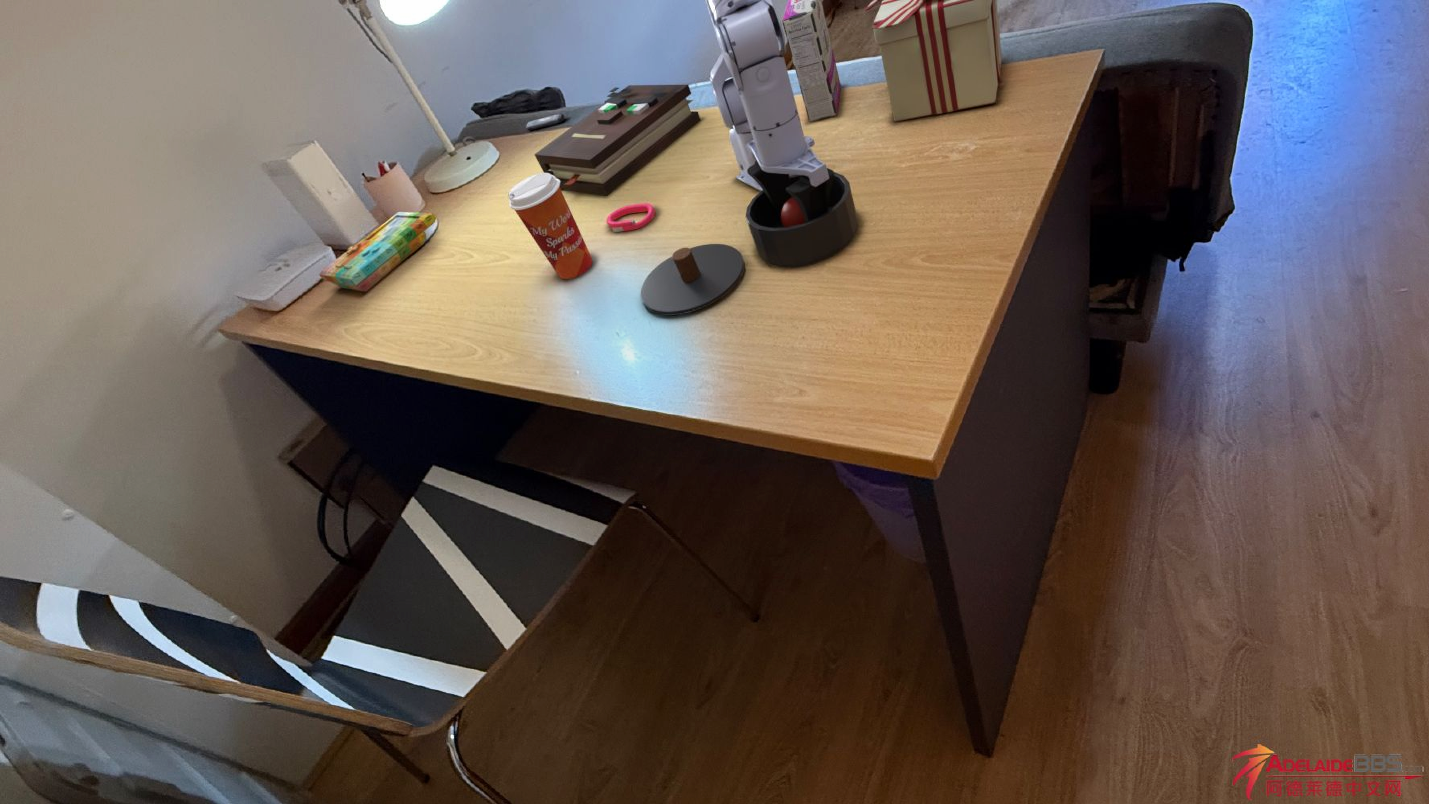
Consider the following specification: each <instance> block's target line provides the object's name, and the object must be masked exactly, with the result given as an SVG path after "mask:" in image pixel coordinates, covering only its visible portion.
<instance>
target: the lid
mask: <svg viewBox="0 0 1429 804" xmlns="http://www.w3.org/2000/svg"><path fill="white" fill-rule="evenodd" d="M744 271H745V260H744V257H743V255H742V253H741V252H740V251H739V250H738V249H737V248H735V247H734V246H731V245H728V244H723V243H709V244H708V243H707V244H701V245H697V246H696V245H695V246H693V247H681V248H678V249H677V250H675V251H674V252H673V253H672V255H671V256H670V257H668V258H667V259H665V260H663V261H662V262H660V264H658V265H656V267H655V268H654V269H653V270H652V271H650V273H649V274H648V275H647V276H646V278H645V279H644V281H643V283H642V285H641V289H640V298H641V299H640V300H641V302H642V303H643V305H644V306H645V307H646V308H647V309H648V310H649V311H651V312H653V313H656V314H659V315H666V316H667V315H669V316H670V315H671V316H672V315H674V316H675V315H681V314H687V313H690V312H694V311H697V310H700V309H703V308H705V307H707V306H709V305H711V304H713V303H715V302H716V301H719V300H720V299H722V298H723V297H724V296H725V295H726V294H728V293H729V292H730V291H731V290H732V289H733V288H734V287H735V286H736V285H737V284H738V282H739V281H740V279H741V278H742V275H743V273H744Z"/></svg>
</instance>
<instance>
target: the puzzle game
mask: <svg viewBox="0 0 1429 804" xmlns="http://www.w3.org/2000/svg"><path fill="white" fill-rule="evenodd" d="M436 220H437V217H436V215H435V214H434V213H432V212H431V213H430V212H412V211H411V212H410V211H409V212H408V211H398V212H397V213H396V214H394V215H393V216H391V217H390V218H389V219H387V221H384V223H383V224H381V225H379V226H378V227H377V228H376V229H374V230H373V231H372V232H371V233H369V234H367V235H366V236H364V238H363V239H361V240H360V241H359V242H357V243H356V244H354V245H350V246H349V247H348V248H347V251H346V252H344V253H343V254H342V255H340V256H339V257H337V258H336V259H335V260H334V261H332V262H330V264H328V265H327V266H326V267H324V268H323V269H322V270H320V272H319V274H318V276H319V277H320V278H321V279H322V280H323V281H325V282H328V283H331V284H333V285H336V286H337V287H340V288H343V289H349V290H352V291H359V292H365V293H366V292H368V291H369V290H370V289H371V288H373V286H375V285H376V284H377V283H379V282H380V281H381V280H382V279H383V278H385V277H386V276H387V275H388V274H389V273H391V272H392V271H393V270H394V269H395V268H397V267H398V266H399V265H400V264H401V263H402V262H404V261H405V260H406V259H408V258H409V257H410V256H411V255H412V254H413V253H415V252H416V251H417V250H418V249H420V248H421V247H422V246H423V245H424V244H425V242H426V239H427V238H426V237H427V235H426V233H425V232H426V230H428V229H429V228H430V227H431V226H432V225H434V223H436Z"/></svg>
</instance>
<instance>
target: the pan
mask: <svg viewBox="0 0 1429 804" xmlns="http://www.w3.org/2000/svg"><path fill="white" fill-rule="evenodd" d="M834 174H835V178H834V181H833V183H832V186H831V190H830V194H829V201H828V212H826V213H824V214H823V215H821V216H820V217H818V218H815V219H813V220H811V221H808V222H806V223H803V224H799V225H795V226H791V227H784V226H783V224H782V221H781V215H779V214H778V213H777V211H776V210H775V208H774V207H773V205H772V203H771V202H770V200H769V198H768V197H767V195H766V194H765V192H764V191H763V190H762V191H759V193H757V194H756V195H755V196H754V197H753V198H752V199H751V200H750V202H749V204H748V205H747V207H746V210H745V211H746V212H745V219H746V223H747V225H748V228H749V231H750V234H751V237H752V240H753V243H754V245H755V249H756V251H757V253H758V255H759V257H760V259H761V260H762V261H763V262H764V263H766V264H767V265H771V266H773V267H777V268H784V269H786V268H789V269H790V268H791V269H792V268H793V269H794V268H802V267H806V266H810V265H814V264H817V263H820V262H822V261H825V260H827V259H830V258H831V257H833V256H835V255H836V254H838V253H839V252H841V251H842V250H844V249H845V248H846V247H848V245H850V243H851V242H852V241H853V240H854V238H855V237H856V234H858V230H859V220H858V214H857V210H856V206H855V201H854V197H853V196H854V195H853V192H852V188H851V184H850V181H849V180H848V179H847V178H846V177H845V175H843V174H840V173H838V172H836V171H834ZM799 176H800V175H792V176H789V179H790V186H791V185H792V184H794V183H796V182H797V181H800V177H799Z"/></svg>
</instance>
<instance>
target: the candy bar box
mask: <svg viewBox="0 0 1429 804" xmlns="http://www.w3.org/2000/svg"><path fill="white" fill-rule="evenodd" d="M781 24H782V27H783V31H784V35H785V39H786V42H787V45H788V49H789V53H790V56H791V60H792V63H793V66H794V70H795V73H796V78H797V81H798V86H799V89H800V93H801V97H802V101H803V104H804V108H805V112H806V115H807V119H808V122H809V123H811V122H818V121H821V120H824V119H828V118H832V117H835V116H837V115H838V109H839V101H840V96H841V89H842V84H841V81H840V77H839V72H838V67H837V63H836V58H835V54H834V51H833V46H832V41H831V38H830V32H829V29H828V25H827V21H826V14H825V11H824V7H823V2H822V0H787V3H786V7H785V10H784V13H783V16H782V19H781Z"/></svg>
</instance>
